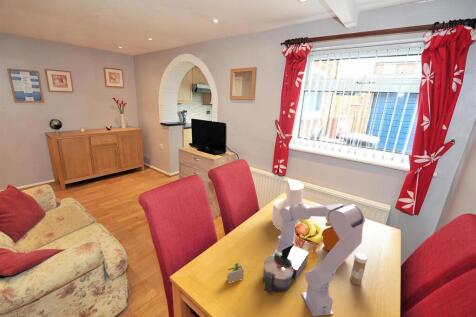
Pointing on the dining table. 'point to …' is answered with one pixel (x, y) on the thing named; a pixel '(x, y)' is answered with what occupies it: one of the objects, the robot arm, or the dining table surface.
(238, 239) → the dining table surface
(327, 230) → the orange lumpy piece
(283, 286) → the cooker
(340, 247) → the robot arm
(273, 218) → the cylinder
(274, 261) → the lid
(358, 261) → the sprinkles bottle
